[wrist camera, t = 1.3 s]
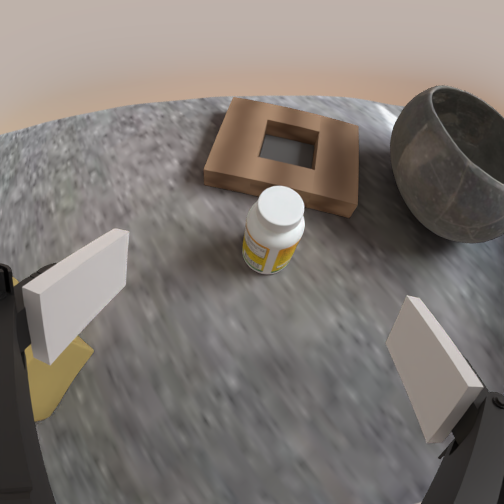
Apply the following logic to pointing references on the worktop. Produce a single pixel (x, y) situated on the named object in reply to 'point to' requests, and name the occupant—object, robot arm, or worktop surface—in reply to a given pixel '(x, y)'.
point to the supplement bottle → (273, 229)
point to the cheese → (53, 375)
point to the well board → (286, 155)
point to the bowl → (451, 164)
